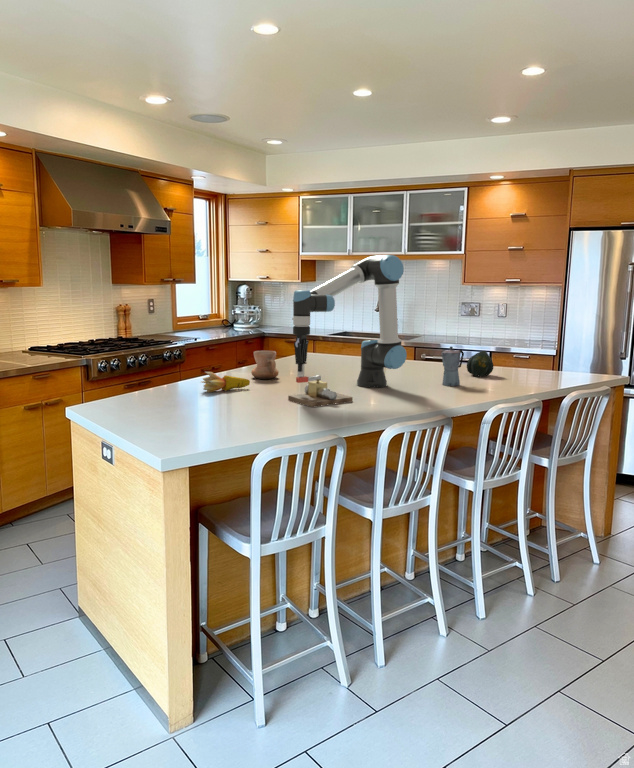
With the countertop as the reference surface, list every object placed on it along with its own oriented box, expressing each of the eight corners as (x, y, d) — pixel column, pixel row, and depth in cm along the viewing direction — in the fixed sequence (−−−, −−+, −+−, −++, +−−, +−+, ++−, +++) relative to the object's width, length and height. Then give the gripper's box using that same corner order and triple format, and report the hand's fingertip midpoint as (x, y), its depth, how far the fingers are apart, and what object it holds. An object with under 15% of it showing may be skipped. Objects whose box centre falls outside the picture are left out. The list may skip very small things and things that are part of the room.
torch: (248, 396, 301) (201, 394, 287) (243, 386, 306) (195, 384, 292) (254, 382, 297) (206, 380, 283) (248, 373, 302) (200, 370, 288)
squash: (461, 367, 346) (480, 347, 341) (462, 364, 360) (481, 346, 355) (479, 385, 344) (499, 365, 339) (480, 381, 358) (499, 363, 354)
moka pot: (434, 384, 319) (435, 346, 315) (454, 382, 328) (456, 344, 324) (448, 387, 311) (450, 348, 308) (468, 384, 320) (470, 346, 317)
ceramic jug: (245, 376, 335) (245, 350, 332) (269, 374, 343) (269, 349, 340) (261, 382, 320) (261, 355, 317) (285, 380, 328) (285, 353, 325)
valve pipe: (313, 393, 283) (313, 377, 282) (338, 400, 268) (339, 384, 267) (302, 394, 280) (302, 378, 278) (327, 401, 264) (328, 385, 263)
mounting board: (327, 394, 288) (327, 390, 287) (352, 401, 273) (352, 397, 273) (288, 399, 275) (288, 395, 274) (312, 407, 260) (312, 402, 260)
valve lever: (318, 379, 276) (318, 374, 275) (322, 380, 274) (322, 375, 273) (295, 382, 269) (295, 377, 268) (299, 383, 267) (299, 377, 266)
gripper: (298, 324, 280) (298, 375, 284) (288, 326, 267) (287, 380, 272) (314, 325, 277) (313, 377, 281) (304, 327, 265) (303, 381, 269)
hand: (300, 378), depth 276 cm, fingers closed
